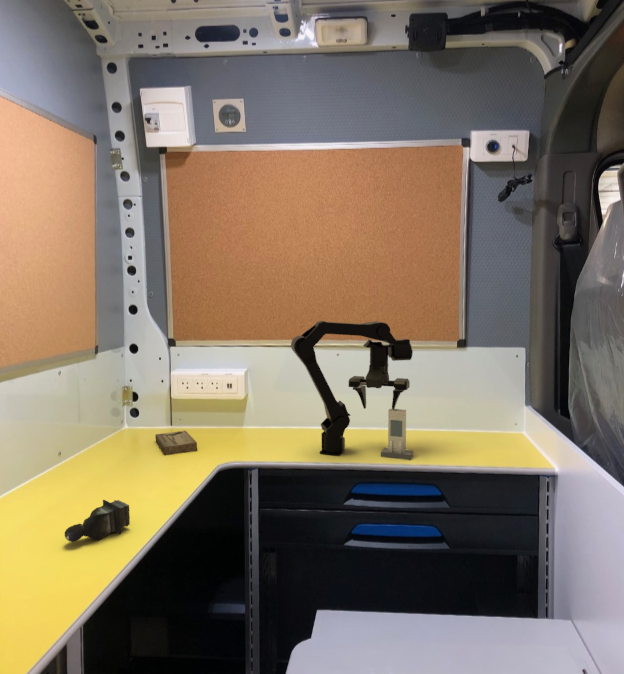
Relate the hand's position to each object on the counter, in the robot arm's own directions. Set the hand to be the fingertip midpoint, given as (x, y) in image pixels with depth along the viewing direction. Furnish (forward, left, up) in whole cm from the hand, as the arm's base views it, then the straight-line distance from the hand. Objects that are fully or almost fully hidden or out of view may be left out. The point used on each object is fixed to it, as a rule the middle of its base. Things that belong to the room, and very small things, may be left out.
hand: (378, 409), depth 173 cm
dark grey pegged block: (+7, -5, -13) cm, 16 cm away
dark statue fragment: (-41, -80, -13) cm, 91 cm away
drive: (+7, -5, -12) cm, 14 cm away
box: (-64, -19, -14) cm, 68 cm away
